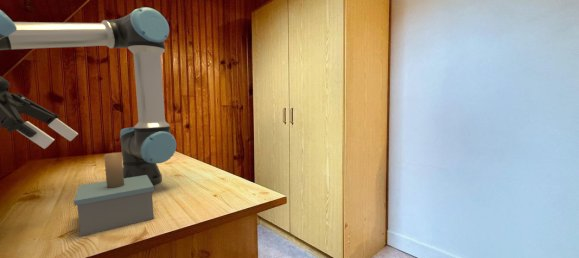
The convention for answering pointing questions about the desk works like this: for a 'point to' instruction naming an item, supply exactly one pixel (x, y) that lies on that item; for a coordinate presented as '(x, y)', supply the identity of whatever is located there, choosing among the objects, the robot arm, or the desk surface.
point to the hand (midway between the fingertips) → (63, 140)
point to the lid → (112, 183)
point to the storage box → (115, 212)
